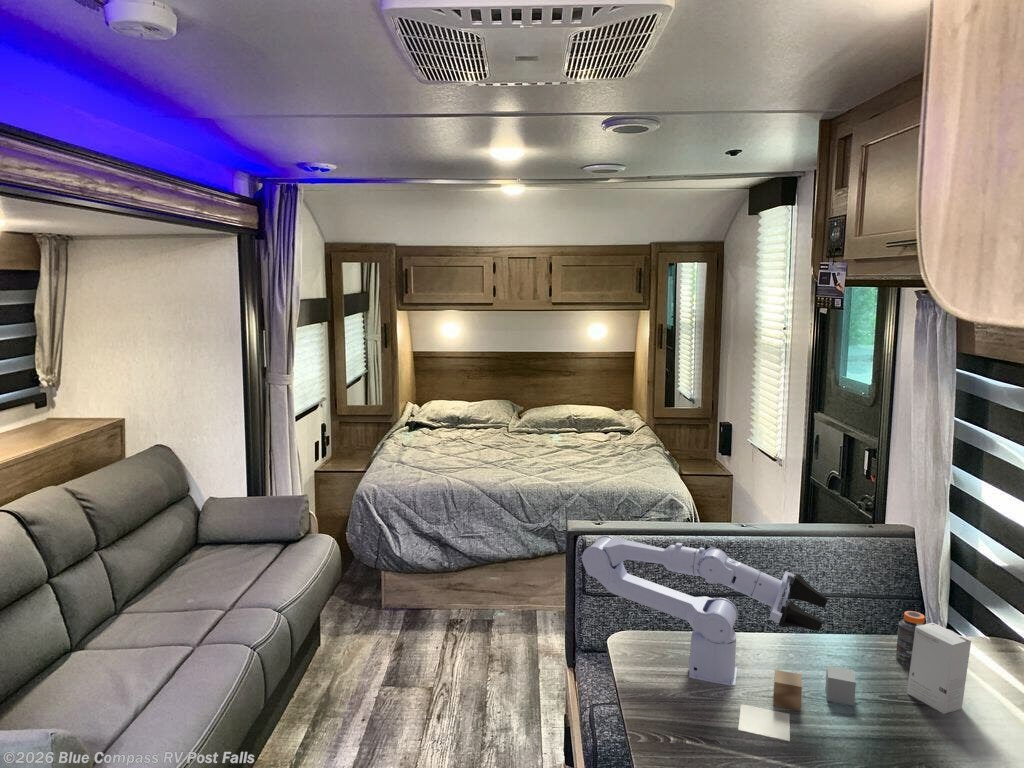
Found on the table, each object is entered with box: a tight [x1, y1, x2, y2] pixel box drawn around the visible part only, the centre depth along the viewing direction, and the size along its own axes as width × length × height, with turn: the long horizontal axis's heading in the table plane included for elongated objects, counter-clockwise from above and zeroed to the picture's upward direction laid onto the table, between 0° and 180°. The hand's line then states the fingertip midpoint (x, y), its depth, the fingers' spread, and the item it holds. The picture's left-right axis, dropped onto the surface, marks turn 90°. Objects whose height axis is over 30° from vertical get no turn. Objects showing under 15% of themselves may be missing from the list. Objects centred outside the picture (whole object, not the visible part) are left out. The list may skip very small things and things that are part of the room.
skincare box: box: [906, 622, 972, 715], centre depth 138 cm, size 8×6×15 cm
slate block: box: [824, 665, 857, 707], centre depth 140 cm, size 5×5×5 cm
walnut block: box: [772, 669, 803, 712], centre depth 138 cm, size 5×5×5 cm
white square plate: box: [737, 704, 791, 743], centre depth 132 cm, size 9×9×1 cm
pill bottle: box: [895, 610, 926, 668], centre depth 154 cm, size 6×6×11 cm
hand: (823, 614), depth 138 cm, fingers open, 7 cm apart
